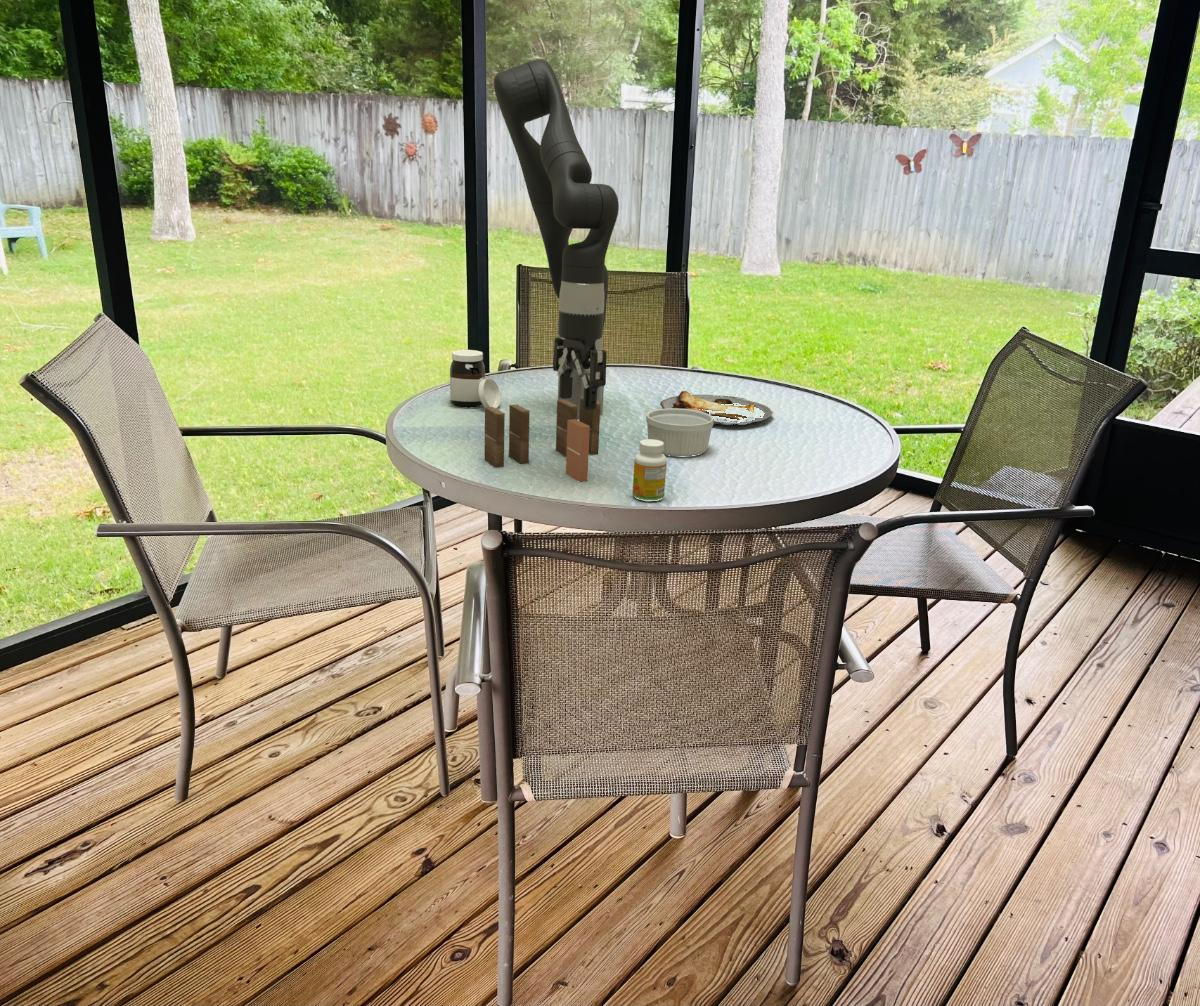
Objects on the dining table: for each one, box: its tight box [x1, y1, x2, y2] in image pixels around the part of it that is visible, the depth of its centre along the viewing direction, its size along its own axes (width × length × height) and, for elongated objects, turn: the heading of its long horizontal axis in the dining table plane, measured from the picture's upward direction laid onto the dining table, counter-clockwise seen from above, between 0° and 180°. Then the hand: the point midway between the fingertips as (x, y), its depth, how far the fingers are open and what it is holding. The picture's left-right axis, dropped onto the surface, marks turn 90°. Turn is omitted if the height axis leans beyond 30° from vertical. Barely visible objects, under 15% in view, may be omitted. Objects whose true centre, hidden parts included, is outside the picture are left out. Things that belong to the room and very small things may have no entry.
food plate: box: [659, 390, 774, 426], centre depth 214 cm, size 25×23×4 cm
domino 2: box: [508, 403, 531, 465], centre depth 175 cm, size 2×5×10 cm, turn 31°
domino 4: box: [565, 419, 590, 483], centre depth 167 cm, size 2×5×10 cm, turn 31°
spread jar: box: [449, 349, 502, 409], centre depth 211 cm, size 12×11×12 cm
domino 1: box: [484, 407, 506, 469], centre depth 172 cm, size 2×5×10 cm, turn 31°
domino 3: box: [555, 399, 578, 457], centre depth 180 cm, size 2×5×10 cm, turn 31°
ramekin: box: [645, 408, 715, 457], centre depth 187 cm, size 13×13×7 cm
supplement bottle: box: [631, 438, 668, 500], centre depth 159 cm, size 5×5×10 cm
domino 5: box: [578, 398, 601, 456], centre depth 182 cm, size 2×5×10 cm, turn 31°
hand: (577, 403), depth 164 cm, fingers open, 8 cm apart
